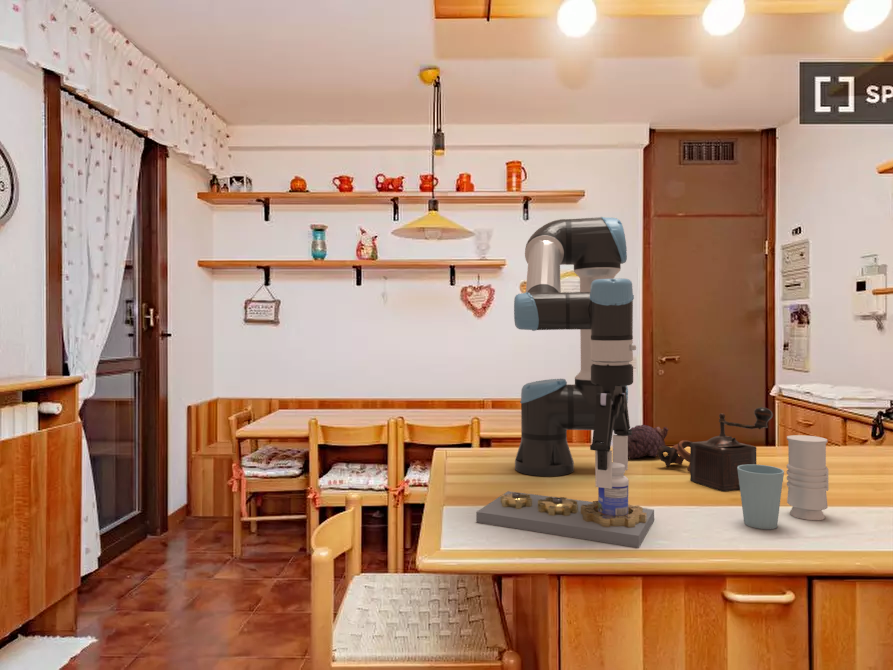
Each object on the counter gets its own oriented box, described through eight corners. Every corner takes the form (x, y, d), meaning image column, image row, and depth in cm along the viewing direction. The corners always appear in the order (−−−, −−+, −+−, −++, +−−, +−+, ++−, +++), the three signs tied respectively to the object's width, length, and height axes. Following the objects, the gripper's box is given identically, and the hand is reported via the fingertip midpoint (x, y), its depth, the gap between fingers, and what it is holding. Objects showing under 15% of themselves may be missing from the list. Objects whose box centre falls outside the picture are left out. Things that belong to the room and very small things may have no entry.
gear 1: (532, 512, 114) (532, 501, 114) (545, 502, 121) (545, 491, 121) (571, 518, 110) (571, 506, 110) (582, 506, 117) (582, 496, 117)
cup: (729, 524, 112) (729, 468, 112) (748, 515, 117) (748, 462, 117) (773, 534, 106) (773, 475, 106) (790, 525, 111) (790, 469, 111)
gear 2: (572, 522, 108) (572, 514, 108) (589, 504, 119) (589, 497, 118) (640, 531, 103) (640, 523, 103) (651, 512, 113) (651, 505, 113)
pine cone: (637, 464, 160) (617, 431, 164) (620, 475, 169) (601, 443, 172) (685, 441, 167) (665, 410, 171) (666, 452, 176) (647, 422, 179)
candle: (828, 523, 112) (828, 443, 112) (785, 517, 116) (785, 439, 115) (828, 513, 118) (828, 437, 118) (787, 508, 121) (787, 434, 121)
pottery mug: (690, 465, 162) (703, 441, 158) (701, 489, 153) (715, 464, 150) (647, 454, 161) (660, 430, 157) (656, 478, 153) (670, 453, 149)
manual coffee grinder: (724, 492, 133) (724, 411, 133) (688, 481, 143) (688, 405, 143) (777, 485, 138) (777, 407, 138) (739, 474, 149) (738, 402, 148)
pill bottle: (599, 511, 114) (599, 460, 114) (629, 514, 112) (629, 462, 112) (597, 520, 109) (596, 466, 109) (628, 523, 107) (628, 468, 107)
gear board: (476, 522, 115) (476, 511, 115) (508, 500, 129) (508, 491, 129) (638, 547, 101) (638, 535, 101) (654, 520, 115) (654, 509, 115)
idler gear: (495, 506, 118) (495, 495, 118) (507, 498, 124) (507, 488, 124) (525, 510, 115) (525, 499, 115) (536, 502, 121) (536, 491, 121)
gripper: (617, 369, 97) (618, 499, 98) (644, 358, 119) (645, 464, 120) (572, 368, 101) (573, 493, 102) (606, 357, 123) (607, 460, 124)
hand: (612, 477), depth 111 cm, fingers open, 13 cm apart
